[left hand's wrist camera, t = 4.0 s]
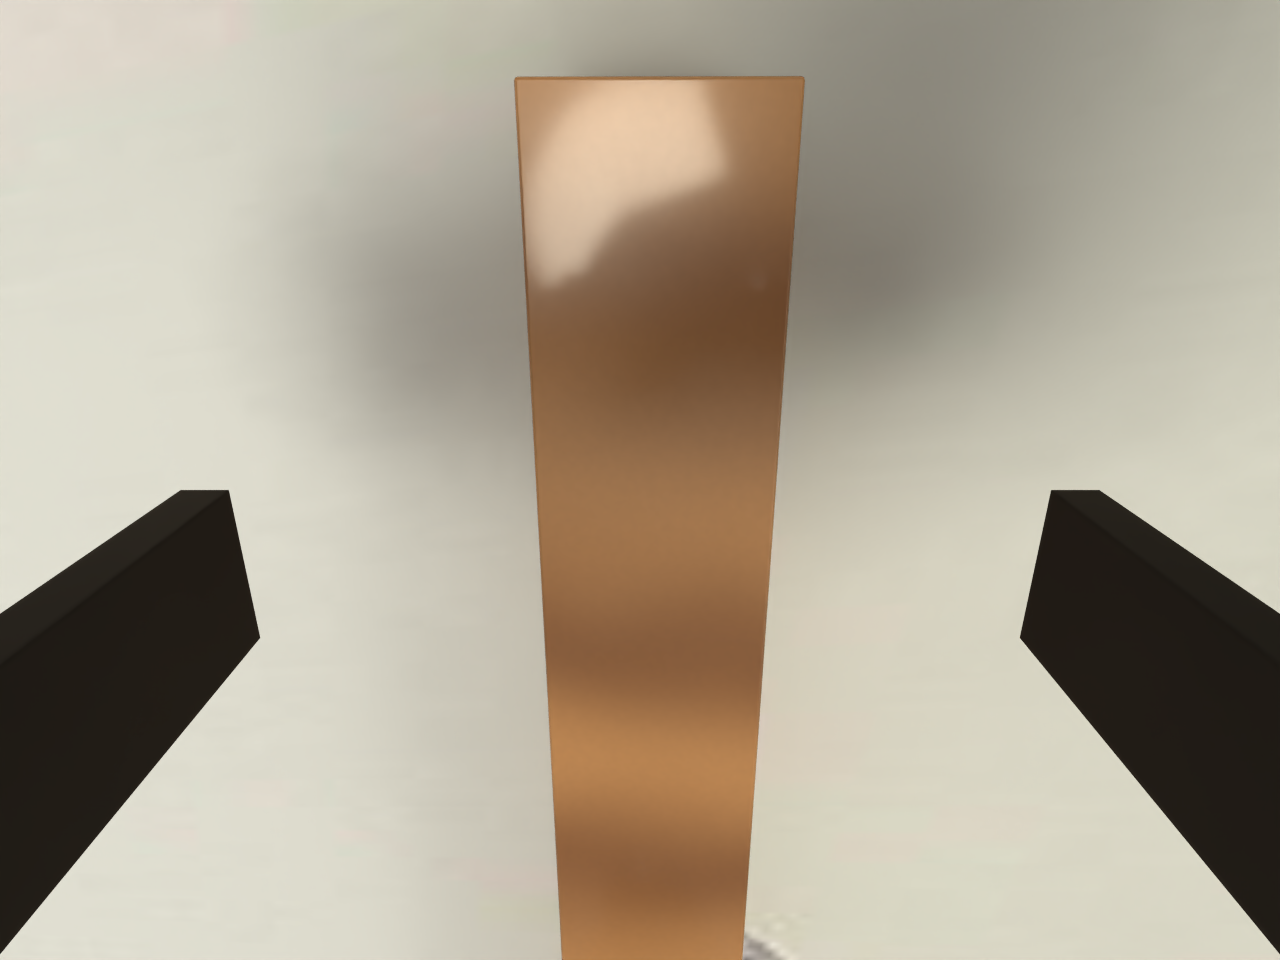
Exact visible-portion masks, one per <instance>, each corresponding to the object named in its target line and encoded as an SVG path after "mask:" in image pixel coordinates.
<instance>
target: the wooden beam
mask: <svg viewBox="0 0 1280 960" xmlns="http://www.w3.org/2000/svg"><path fill="white" fill-rule="evenodd" d="M804 85H805V79H804V77H802V76H615V77H516V78H515V80H514V87H515V105H516V123H517V142H518V160H519V178H520V197H521V215H522V234H523V252H524V270H525V289H526V307H527V325H528V344H529V362H530V381H531V399H532V417H533V436H534V454H535V472H536V491H537V509H538V528H539V546H540V564H541V583H542V601H543V619H544V638H545V656H546V674H547V693H548V711H549V730H550V748H551V766H552V785H553V803H554V821H555V840H556V858H557V877H558V895H559V913H560V932H561V950H562V960H742V955H743V941H744V927H745V913H746V899H747V885H748V871H749V857H750V843H751V829H752V815H753V801H754V787H755V773H756V759H757V745H758V731H759V717H760V703H761V689H762V675H763V661H764V647H765V633H766V618H767V604H768V590H769V576H770V562H771V548H772V534H773V520H774V506H775V492H776V478H777V464H778V450H779V436H780V422H781V408H782V394H783V380H784V366H785V352H786V338H787V324H788V310H789V296H790V282H791V268H792V254H793V240H794V226H795V211H796V197H797V183H798V169H799V155H800V141H801V127H802V113H803V99H804Z"/></svg>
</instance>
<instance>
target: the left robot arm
mask: <svg viewBox="0 0 1280 960" xmlns="http://www.w3.org/2000/svg"><path fill="white" fill-rule="evenodd" d="M259 639H260V635H259V630H258V626H257V621H256V616H255V611H254V607H253V602H252V597H251V593H250V588H249V583H248V578H247V574H246V569H245V564H244V560H243V555H242V550H241V546H240V541H239V536H238V531H237V527H236V522H235V517H234V513H233V508H232V503H231V499H230V494H229V490H180V491H179V492H177V493H176V494H174V495H173V496H171V497H170V498H169V499H167V500H166V501H164V502H163V503H161V504H160V505H158V506H157V507H155V508H154V509H153V510H151V511H150V512H148V513H147V514H145V515H144V516H142V517H141V518H139V519H138V520H136V521H135V522H134V523H132V524H131V525H129V526H128V527H126V528H125V529H123V530H122V531H120V532H119V533H117V534H116V535H115V536H113V537H112V538H110V539H109V540H107V541H106V542H104V543H103V544H101V545H100V546H98V547H97V548H96V549H94V550H93V551H91V552H90V553H88V554H87V555H85V556H84V557H82V558H81V559H79V560H78V561H77V562H75V563H74V564H72V565H71V566H69V567H68V568H66V569H65V570H63V571H62V572H61V573H59V574H58V575H56V576H55V577H53V578H52V579H50V580H49V581H47V582H46V583H44V584H43V585H42V586H40V587H39V588H37V589H36V590H34V591H33V592H31V593H30V594H28V595H27V596H25V597H24V598H23V599H21V600H20V601H18V602H17V603H15V604H14V605H12V606H11V607H9V608H8V609H6V610H5V611H4V612H2V613H1V614H0V954H1V952H2V951H3V950H4V949H5V948H6V946H7V945H8V944H9V943H10V941H11V940H12V939H13V938H14V937H15V935H16V934H17V933H18V932H19V931H20V929H21V928H22V927H23V926H24V924H25V923H26V922H27V921H28V920H29V918H30V917H31V916H32V915H33V913H34V912H35V911H36V910H37V909H38V907H39V906H40V905H41V904H42V903H43V901H44V900H45V899H46V898H47V896H48V895H49V894H50V893H51V892H52V890H53V889H54V888H55V887H56V886H57V884H58V883H59V882H60V881H61V879H62V878H63V877H64V876H65V875H66V873H67V872H68V871H69V870H70V868H71V867H72V866H73V865H74V864H75V862H76V861H77V860H78V859H79V858H80V856H81V855H82V854H83V853H84V851H85V850H86V849H87V848H88V847H89V845H90V844H91V843H92V842H93V841H94V839H95V838H96V837H97V836H98V834H99V833H100V832H101V831H102V830H103V828H104V827H105V826H106V825H107V823H108V822H109V821H110V820H111V819H112V817H113V816H114V815H115V814H116V813H117V811H118V810H119V809H120V808H121V806H122V805H123V804H124V803H125V802H126V800H127V799H128V798H129V797H130V795H131V794H132V793H133V792H134V791H135V789H136V788H137V787H138V786H139V785H140V783H141V782H142V781H143V780H144V778H145V777H146V776H147V775H148V774H149V772H150V771H151V770H152V769H153V768H154V766H155V765H156V764H157V763H158V761H159V760H160V759H161V758H162V757H163V755H164V754H165V753H166V752H167V750H168V749H169V748H170V747H171V746H172V744H173V743H174V742H175V741H176V740H177V738H178V737H179V736H180V735H181V733H182V732H183V731H184V730H185V729H186V727H187V726H188V725H189V724H190V722H191V721H192V720H193V719H194V718H195V716H196V715H197V714H198V713H199V712H200V710H201V709H202V708H203V707H204V705H205V704H206V703H207V702H208V701H209V699H210V698H211V697H212V696H213V695H214V693H215V692H216V691H217V690H218V688H219V687H220V686H221V685H222V684H223V682H224V681H225V680H226V679H227V677H228V676H229V675H230V674H231V673H232V671H233V670H234V669H235V668H236V667H237V665H238V664H239V663H240V662H241V660H242V659H243V658H244V657H245V656H246V654H247V653H248V652H249V651H250V649H251V648H252V647H253V646H254V645H255V643H256V642H257V641H258V640H259ZM1020 639H1021V640H1022V641H1023V642H1024V643H1025V645H1026V646H1027V647H1028V648H1029V650H1030V651H1031V652H1032V653H1033V654H1034V656H1035V657H1036V658H1037V659H1038V660H1039V662H1040V663H1041V664H1042V665H1043V667H1044V668H1045V669H1046V670H1047V671H1048V673H1049V674H1050V675H1051V676H1052V677H1053V679H1054V680H1055V681H1056V682H1057V684H1058V685H1059V686H1060V687H1061V688H1062V690H1063V691H1064V692H1065V693H1066V695H1067V696H1068V697H1069V698H1070V699H1071V701H1072V702H1073V703H1074V704H1075V705H1076V707H1077V708H1078V709H1079V710H1080V712H1081V713H1082V714H1083V715H1084V716H1085V718H1086V719H1087V720H1088V721H1089V722H1090V724H1091V725H1092V726H1093V727H1094V729H1095V730H1096V731H1097V732H1098V733H1099V735H1100V736H1101V737H1102V738H1103V740H1104V741H1105V742H1106V743H1107V744H1108V746H1109V747H1110V748H1111V749H1112V750H1113V752H1114V753H1115V754H1116V755H1117V757H1118V758H1119V759H1120V760H1121V761H1122V763H1123V764H1124V765H1125V766H1126V768H1127V769H1128V770H1129V771H1130V772H1131V774H1132V775H1133V776H1134V777H1135V778H1136V780H1137V781H1138V782H1139V783H1140V785H1141V786H1142V787H1143V788H1144V789H1145V791H1146V792H1147V793H1148V794H1149V795H1150V797H1151V798H1152V799H1153V800H1154V802H1155V803H1156V804H1157V805H1158V806H1159V808H1160V809H1161V810H1162V811H1163V813H1164V814H1165V815H1166V816H1167V817H1168V819H1169V820H1170V821H1171V822H1172V823H1173V825H1174V826H1175V827H1176V828H1177V830H1178V831H1179V832H1180V833H1181V834H1182V836H1183V837H1184V838H1185V839H1186V841H1187V842H1188V843H1189V844H1190V845H1191V847H1192V848H1193V849H1194V850H1195V851H1196V853H1197V854H1198V855H1199V856H1200V858H1201V859H1202V860H1203V861H1204V862H1205V864H1206V865H1207V866H1208V867H1209V868H1210V870H1211V871H1212V872H1213V873H1214V875H1215V876H1216V877H1217V878H1218V879H1219V881H1220V882H1221V883H1222V884H1223V886H1224V887H1225V888H1226V889H1227V890H1228V892H1229V893H1230V894H1231V895H1232V896H1233V898H1234V899H1235V900H1236V901H1237V903H1238V904H1239V905H1240V906H1241V907H1242V909H1243V910H1244V911H1245V912H1246V913H1247V915H1248V916H1249V917H1250V918H1251V920H1252V921H1253V922H1254V923H1255V924H1256V926H1257V927H1258V928H1259V929H1260V931H1261V932H1262V933H1263V934H1264V935H1265V937H1266V938H1267V939H1268V940H1269V941H1270V943H1271V944H1272V945H1273V946H1274V948H1275V949H1276V950H1277V951H1278V952H1279V954H1280V614H1279V613H1278V612H1276V611H1275V610H1274V609H1272V608H1271V607H1269V606H1268V605H1266V604H1265V603H1263V602H1262V601H1260V600H1259V599H1257V598H1256V597H1255V596H1253V595H1252V594H1250V593H1249V592H1247V591H1246V590H1244V589H1243V588H1241V587H1240V586H1238V585H1237V584H1236V583H1234V582H1233V581H1231V580H1230V579H1228V578H1227V577H1225V576H1224V575H1222V574H1221V573H1219V572H1218V571H1217V570H1215V569H1214V568H1212V567H1211V566H1209V565H1208V564H1206V563H1205V562H1203V561H1202V560H1201V559H1199V558H1198V557H1196V556H1195V555H1193V554H1192V553H1190V552H1189V551H1187V550H1186V549H1184V548H1183V547H1182V546H1180V545H1179V544H1177V543H1176V542H1174V541H1173V540H1171V539H1170V538H1168V537H1167V536H1165V535H1164V534H1163V533H1161V532H1160V531H1158V530H1157V529H1155V528H1154V527H1152V526H1151V525H1149V524H1148V523H1146V522H1145V521H1144V520H1142V519H1141V518H1139V517H1138V516H1136V515H1135V514H1133V513H1132V512H1130V511H1129V510H1127V509H1126V508H1125V507H1123V506H1122V505H1120V504H1119V503H1117V502H1116V501H1114V500H1113V499H1111V498H1110V497H1109V496H1107V495H1106V494H1104V493H1103V492H1101V491H1100V490H1051V494H1050V499H1049V503H1048V508H1047V513H1046V517H1045V522H1044V527H1043V531H1042V536H1041V541H1040V546H1039V550H1038V555H1037V560H1036V564H1035V569H1034V574H1033V578H1032V583H1031V588H1030V593H1029V597H1028V602H1027V607H1026V611H1025V616H1024V621H1023V625H1022V630H1021V635H1020Z"/></svg>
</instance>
